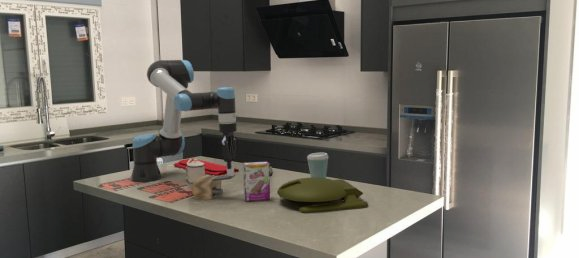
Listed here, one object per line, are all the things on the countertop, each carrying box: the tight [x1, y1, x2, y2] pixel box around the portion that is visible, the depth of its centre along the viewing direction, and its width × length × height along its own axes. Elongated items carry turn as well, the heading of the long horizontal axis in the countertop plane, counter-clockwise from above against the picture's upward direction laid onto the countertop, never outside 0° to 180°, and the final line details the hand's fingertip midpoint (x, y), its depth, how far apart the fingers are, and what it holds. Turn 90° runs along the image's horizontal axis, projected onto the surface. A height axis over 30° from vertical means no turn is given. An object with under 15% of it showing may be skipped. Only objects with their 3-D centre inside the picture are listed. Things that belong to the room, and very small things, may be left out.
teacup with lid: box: [185, 158, 206, 184], centre depth 250 cm, size 12×9×12 cm
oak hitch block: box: [192, 174, 222, 201], centre depth 221 cm, size 8×12×8 cm, turn 165°
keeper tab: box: [212, 173, 236, 181], centre depth 217 cm, size 9×6×1 cm
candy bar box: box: [242, 161, 271, 203], centre depth 213 cm, size 11×5×16 cm, turn 102°
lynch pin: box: [191, 185, 224, 197], centre depth 219 cm, size 13×5×5 cm, turn 75°
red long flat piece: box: [173, 158, 240, 176], centre depth 279 cm, size 16×41×4 cm, turn 47°
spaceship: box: [277, 177, 369, 214], centre depth 209 cm, size 35×31×10 cm
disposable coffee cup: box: [306, 151, 329, 178], centre depth 239 cm, size 11×11×15 cm
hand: (230, 175), depth 216 cm, fingers closed
